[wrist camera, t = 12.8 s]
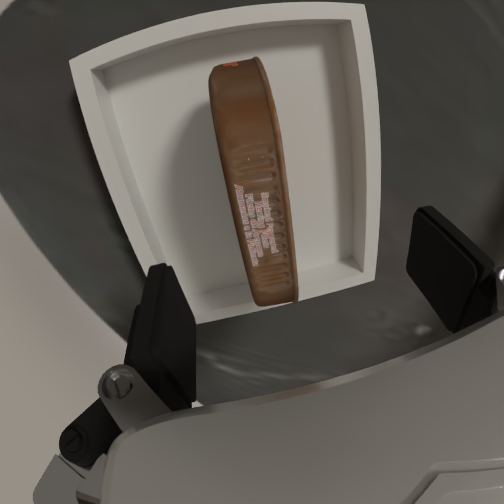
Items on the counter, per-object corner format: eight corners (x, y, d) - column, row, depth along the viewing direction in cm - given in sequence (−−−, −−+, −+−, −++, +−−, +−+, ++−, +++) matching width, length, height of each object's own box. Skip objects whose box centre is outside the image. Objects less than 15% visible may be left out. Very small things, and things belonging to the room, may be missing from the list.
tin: (281, 252, 24) (311, 328, 17) (244, 260, 24) (261, 341, 17) (251, 60, 16) (284, 47, 9) (202, 69, 16) (198, 61, 9)
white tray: (343, 11, 15) (364, 4, 12) (359, 259, 27) (374, 280, 24) (88, 61, 14) (69, 60, 12) (175, 303, 27) (173, 328, 24)
